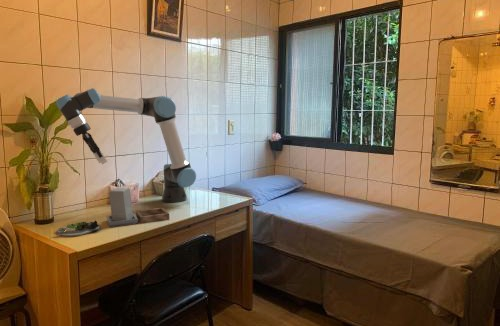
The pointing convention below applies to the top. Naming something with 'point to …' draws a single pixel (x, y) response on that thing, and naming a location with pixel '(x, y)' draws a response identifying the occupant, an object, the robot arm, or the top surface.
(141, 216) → the square wooden tray
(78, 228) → the salad plate
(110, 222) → the tray
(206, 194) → the top surface
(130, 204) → the skincare box
